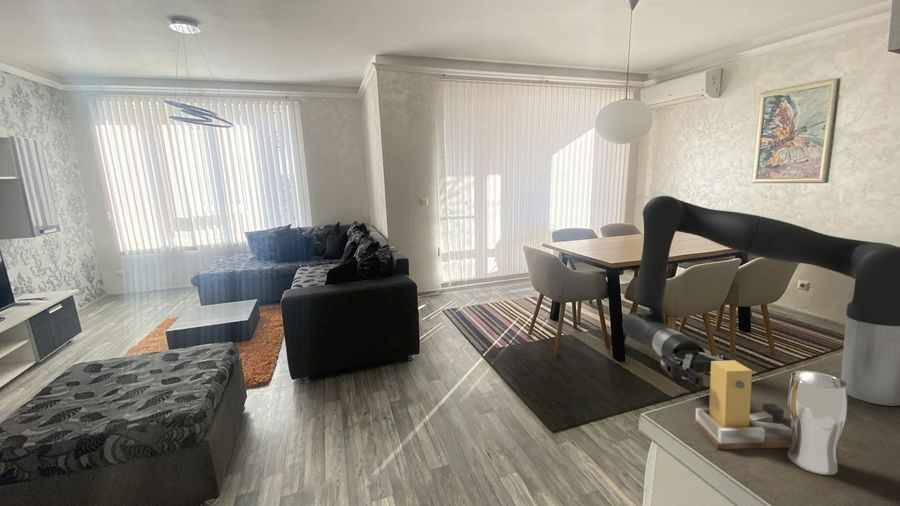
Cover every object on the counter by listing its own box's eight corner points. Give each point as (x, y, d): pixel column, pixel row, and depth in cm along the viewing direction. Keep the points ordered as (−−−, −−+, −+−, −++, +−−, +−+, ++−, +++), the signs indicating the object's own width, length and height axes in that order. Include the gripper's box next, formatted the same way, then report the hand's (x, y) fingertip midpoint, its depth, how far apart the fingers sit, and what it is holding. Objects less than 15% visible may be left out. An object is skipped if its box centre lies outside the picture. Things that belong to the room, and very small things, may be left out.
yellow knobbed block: (729, 421, 74) (732, 358, 73) (751, 438, 69) (754, 371, 67) (706, 421, 74) (709, 359, 73) (726, 439, 69) (729, 372, 67)
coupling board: (773, 421, 75) (774, 402, 74) (809, 446, 67) (810, 426, 67) (691, 423, 76) (692, 405, 75) (716, 449, 68) (717, 428, 67)
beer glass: (783, 444, 68) (788, 366, 66) (838, 459, 64) (845, 376, 62) (785, 466, 63) (790, 382, 61) (845, 484, 59) (852, 394, 57)
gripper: (645, 335, 88) (686, 364, 72) (708, 332, 87) (763, 361, 71) (645, 365, 89) (685, 401, 73) (707, 362, 88) (761, 398, 72)
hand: (723, 381), depth 72 cm, fingers open, 8 cm apart
